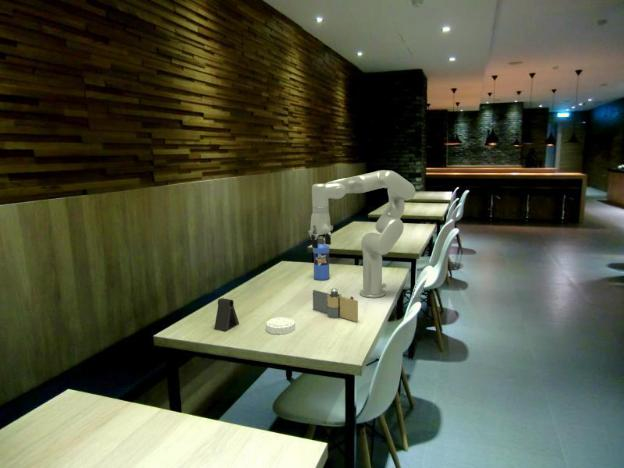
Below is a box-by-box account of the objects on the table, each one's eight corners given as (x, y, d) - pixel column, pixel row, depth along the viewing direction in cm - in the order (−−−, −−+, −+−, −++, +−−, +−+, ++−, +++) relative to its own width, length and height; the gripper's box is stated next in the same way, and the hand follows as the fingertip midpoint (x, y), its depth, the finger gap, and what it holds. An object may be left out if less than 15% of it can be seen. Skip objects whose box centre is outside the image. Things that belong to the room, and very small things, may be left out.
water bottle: (329, 280, 250) (329, 237, 245) (313, 281, 250) (312, 237, 246) (329, 276, 259) (328, 234, 255) (313, 276, 259) (312, 235, 255)
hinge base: (318, 307, 204) (318, 288, 203) (344, 315, 194) (344, 295, 192) (309, 311, 200) (308, 291, 198) (335, 319, 189) (335, 298, 188)
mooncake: (288, 336, 172) (288, 328, 172) (261, 333, 176) (260, 324, 176) (299, 325, 183) (299, 317, 183) (273, 322, 187) (273, 314, 187)
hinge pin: (334, 313, 196) (333, 288, 194) (339, 315, 194) (339, 289, 192) (329, 315, 194) (329, 289, 192) (335, 317, 192) (334, 290, 190)
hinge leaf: (333, 311, 198) (333, 292, 197) (361, 319, 188) (361, 299, 186) (324, 315, 194) (324, 295, 192) (352, 323, 183) (352, 303, 182)
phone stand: (225, 331, 178) (224, 303, 176) (214, 329, 181) (212, 301, 179) (239, 324, 186) (238, 297, 184) (228, 322, 188) (226, 295, 186)
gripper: (325, 207, 214) (326, 242, 217) (302, 211, 201) (303, 248, 204) (338, 208, 209) (338, 243, 212) (314, 212, 196) (315, 250, 199)
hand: (321, 246), depth 208 cm, fingers open, 9 cm apart
